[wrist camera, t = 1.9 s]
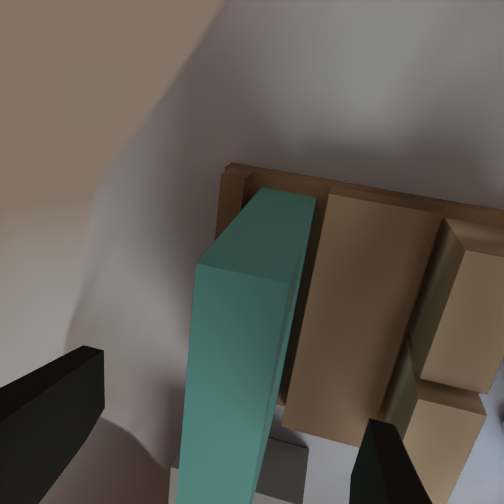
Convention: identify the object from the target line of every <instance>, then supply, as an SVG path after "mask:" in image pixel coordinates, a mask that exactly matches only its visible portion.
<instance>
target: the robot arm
mask: <svg viewBox="0 0 504 504" xmlns="http://www.w3.org/2000/svg"><path fill="white" fill-rule="evenodd" d="M104 408H105V398H104V350H100V349H96V348H92V347H88V346H84V345H83V346H81V347H79V348H77V349H75V350H73V351H71V352H69V353H67V354H65V355H63V356H61V357H59V358H58V359H56V360H54V361H52V362H50V363H48V364H46V365H44V366H43V367H40V368H38V369H37V370H35V371H33V372H31V373H29V374H27V375H25V376H23V377H21V378H19V379H17V380H15V381H13V382H11V383H9V384H7V385H6V386H3V387H1V388H0V504H38V503H39V502H40V501H41V500H42V498H43V497H44V496H45V494H46V493H47V492H48V491H49V489H50V488H51V486H52V485H53V484H54V483H55V481H56V480H57V479H58V477H59V476H60V475H61V473H62V472H63V471H64V469H65V468H66V467H67V465H68V464H69V462H70V461H71V460H72V458H73V457H74V456H75V455H76V453H77V452H78V450H79V449H80V447H81V446H82V445H83V444H84V442H85V441H86V439H87V437H88V436H89V434H90V432H91V431H92V429H93V427H94V426H95V424H96V422H97V420H98V419H99V417H100V415H101V413H102V412H103V410H104ZM502 430H503V432H504V421H503V422H502ZM349 504H433V503H432V501H431V500H430V498H429V496H428V494H427V492H426V490H425V488H424V486H423V484H422V482H421V480H420V478H419V476H418V474H417V472H416V470H415V468H414V465H413V463H412V461H411V459H410V457H409V455H408V452H407V450H406V448H405V446H404V444H403V441H402V439H401V437H400V434H399V432H398V430H397V428H396V427H395V425H394V424H390V423H386V422H382V421H378V420H374V419H371V418H369V420H368V423H367V427H366V430H365V433H364V436H363V439H362V442H361V446H360V449H359V452H358V455H357V458H356V461H355V465H354V468H353V471H352V474H351V483H350V499H349Z"/></svg>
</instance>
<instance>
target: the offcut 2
mask: <svg viewBox="0 0 504 504" xmlns="http://www.w3.org/2000/svg"><path fill="white" fill-rule="evenodd" d="M486 417H487V414H486V412H485V409H484V407H483V404H482V402H481V399H480V397H479V394H478V392H475V391H471V390H466V389H462V388H458V387H454V386H450V385H446V384H441V383H437V382H433V381H429V380H425V379H421V378H420V377H419V373H418V368H417V364H416V359H415V355H414V350H413V346H412V341H411V337H405V340H404V343H403V346H402V349H401V352H400V355H399V358H398V361H397V364H396V367H395V370H394V373H393V376H392V379H391V382H390V386H389V389H388V392H387V395H386V398H385V401H384V404H383V407H382V410H381V413H380V416H379V419H378V421H382V422H386V423H390V424H394V425H395V427H396V428H397V430H398V432H399V434H400V437H401V439H402V441H403V444H404V446H405V448H406V450H407V452H408V455H409V457H410V459H411V461H412V463H413V465H414V468H415V470H416V472H417V474H418V476H419V478H420V480H421V482H422V484H423V486H424V488H425V490H426V492H427V494H428V496H429V498H430V500H431V501H432V503H433V504H447V502H448V500H449V498H450V495H451V493H452V491H453V489H454V487H455V485H456V482H457V480H458V478H459V476H460V474H461V472H462V469H463V467H464V465H465V463H466V461H467V459H468V456H469V454H470V452H471V450H472V448H473V446H474V443H475V441H476V439H477V437H478V435H479V433H480V430H481V428H482V426H483V424H484V422H485V420H486Z"/></svg>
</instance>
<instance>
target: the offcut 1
mask: <svg viewBox="0 0 504 504" xmlns="http://www.w3.org/2000/svg"><path fill="white" fill-rule="evenodd" d="M409 332H410V337H411V341H412V346H413V350H414V355H415V359H416V364H417V368H418V373H419V377H420V378H421V379H425V380H429V381H433V382H437V383H441V384H446V385H450V386H454V387H458V388H462V389H466V390H471V391H475V392H479V393H483V394H487V393H488V391H489V389H490V387H491V384H492V382H493V380H494V378H495V376H496V373H497V371H498V369H499V367H500V364H501V362H502V360H503V358H504V229H503V228H498V227H492V226H487V225H481V224H476V223H470V222H465V221H459V220H454V219H448V218H444V221H443V224H442V227H441V230H440V233H439V236H438V239H437V242H436V245H435V248H434V251H433V254H432V257H431V260H430V263H429V266H428V269H427V273H426V276H425V279H424V282H423V285H422V288H421V291H420V294H419V297H418V300H417V303H416V306H415V309H414V312H413V315H412V318H411V321H410V324H409Z"/></svg>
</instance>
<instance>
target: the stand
mask: <svg viewBox="0 0 504 504" xmlns="http://www.w3.org/2000/svg"><path fill="white" fill-rule="evenodd" d="M180 450H181V447H180V449H179V451H178V453H177V455H176V457H175V459H174V461H173V464H172V466H171V472H170V486H169V501H168V504H176V499H177V487H178V474H179V462H180ZM308 454H309V449H307V448H303V447H300V446H296V445H293V444H289V443H285V442H282V441H278V440H274V439H271V438H268V440H267V444H266V449H265V453H264V457H263V461H262V465H261V469H260V473H259V478H258V482H257V486H256V490H255V494H254V498H253V503H252V504H302V503H303V495H304V486H305V478H306V470H307V462H308Z"/></svg>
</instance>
